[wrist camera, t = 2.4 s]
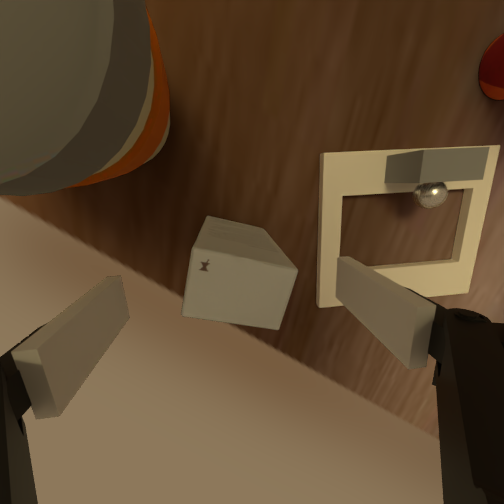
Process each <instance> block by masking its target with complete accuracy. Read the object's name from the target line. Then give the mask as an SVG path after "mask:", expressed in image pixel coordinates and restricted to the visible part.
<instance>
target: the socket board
mask: <svg viewBox="0 0 504 504" xmlns="http://www.w3.org/2000/svg"><path fill="white" fill-rule="evenodd" d="M499 149H500V145H492V146H469V147H446V148H423V149H400V150H377V151H354V152H331V153H322V154H320V171H319V209H318V247H317V285H316V304H317V306H318V307H319V308H324V307H334V306H344V305H343V304H342V303H341V302H340V301H339V300H338V299H337V298H336V297H335V296H336V273H337V257H339V252H340V234H341V215H342V196H350V195H367V194H383V193H400V192H413V191H414V189H415V187H416V186H417V185H418V184H419V183H432V182H443V183H445V185H446V186H447V188H448V190H450V189H464V193H463V198H462V203H461V209H460V214H459V219H458V224H457V230H456V235H455V240H454V246H453V251H452V256H451V259H448V260H437V261H425V262H414V263H402V264H391V265H379V266H368V267H369V268H371V269H373V270H374V271H376V272H378V273H380V274H381V275H383V276H385V277H387V278H389V279H390V280H392V281H394V282H396V283H397V284H399V285H401V286H403V287H406V288H409V289H412V290H413V291H415V292H417V293H419V295H422V296H424V297H433V296H442V295H452V294H462V293H468V291H469V287H470V282H471V277H472V273H473V268H474V264H475V259H476V255H477V250H478V245H479V241H480V236H481V232H482V227H483V223H484V218H485V213H486V209H487V204H488V200H489V195H490V190H491V186H492V181H493V177H494V172H495V168H496V163H497V158H498V154H499Z"/></svg>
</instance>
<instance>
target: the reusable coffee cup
mask: <svg viewBox="0 0 504 504" xmlns="http://www.w3.org/2000/svg"><path fill="white" fill-rule="evenodd" d="M169 128H170V92H169V87H168V82H167V76H166V72H165V68H164V64H163V60H162V55H161V51H160V47H159V43H158V39H157V35H156V32H155V29H154V27H153V24H152V21H151V19H150V16H149V13H148V10H147V8H146V5H145V0H0V195H16V196H27V195H34V194H42V193H50V192H54V191H57V190H60V189H63V188H70V187H78V186H86V185H90V184H93V183H97V182H101V181H104V180H108V179H111V178H115V177H118V176H121V175H124V174H127V173H129V172H131V171H133V170H134V169H136V168H138V167H139V166H141V165H142V164H144V163H146V162H148V161H149V160H151V159H153V158H154V157H155V156H156V155H157V154H158V153H159V152H160V150H161V149H162V147H163V146H164V144H165V142H166V139H167V136H168V134H169Z"/></svg>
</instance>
